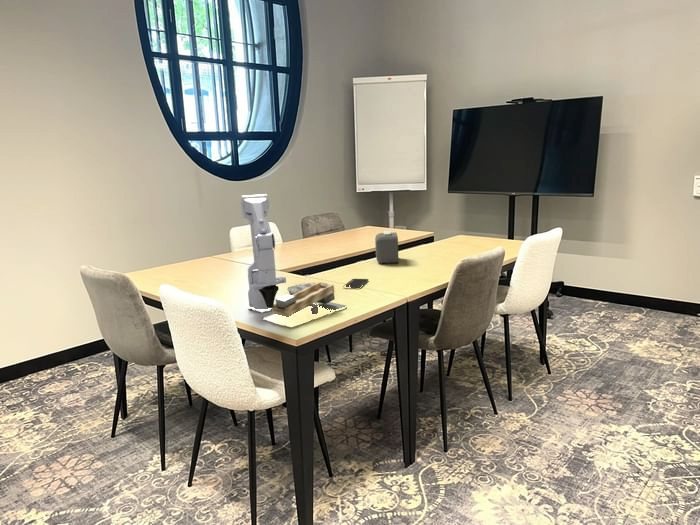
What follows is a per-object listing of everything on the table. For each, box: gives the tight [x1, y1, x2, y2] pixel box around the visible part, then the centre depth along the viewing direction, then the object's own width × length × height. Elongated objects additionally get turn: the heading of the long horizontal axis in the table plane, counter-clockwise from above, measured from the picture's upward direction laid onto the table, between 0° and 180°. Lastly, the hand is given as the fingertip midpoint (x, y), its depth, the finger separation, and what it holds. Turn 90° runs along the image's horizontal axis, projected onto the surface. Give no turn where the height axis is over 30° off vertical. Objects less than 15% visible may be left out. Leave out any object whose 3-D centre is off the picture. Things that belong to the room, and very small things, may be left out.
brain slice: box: [286, 282, 331, 295], centre depth 222 cm, size 20×17×3 cm
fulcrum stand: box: [311, 301, 347, 314], centre depth 194 cm, size 28×16×3 cm, turn 138°
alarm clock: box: [374, 230, 399, 264], centre depth 278 cm, size 16×11×16 cm
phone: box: [343, 278, 369, 288], centre depth 234 cm, size 8×1×15 cm
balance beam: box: [271, 281, 335, 317], centre depth 193 cm, size 24×12×6 cm, turn 138°
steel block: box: [274, 293, 296, 309], centre depth 187 cm, size 5×5×4 cm
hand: (270, 307), depth 181 cm, fingers closed
